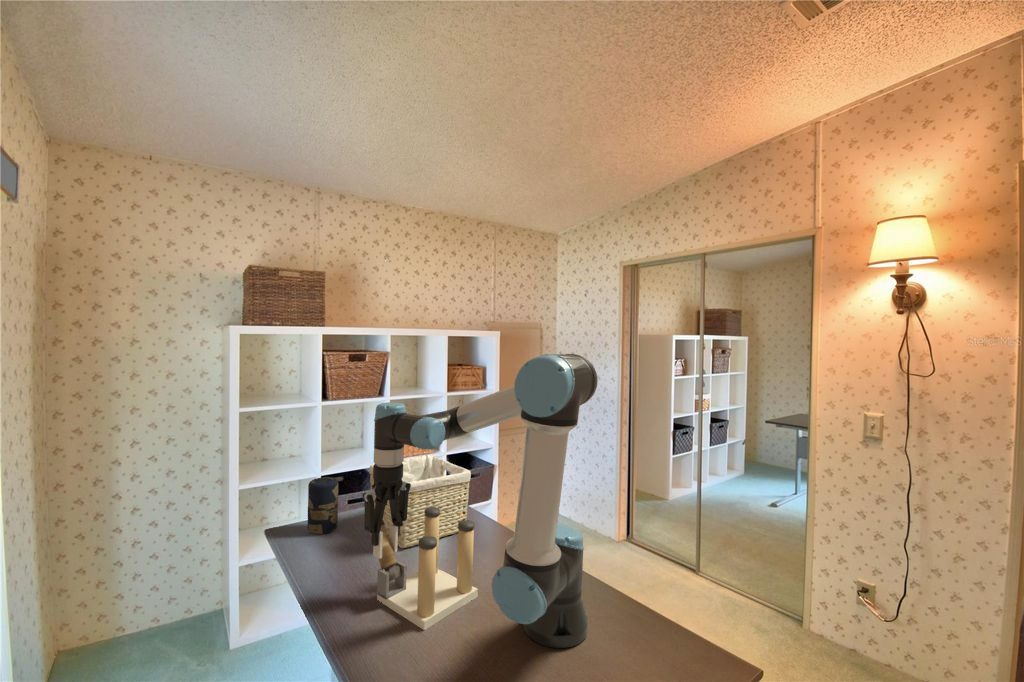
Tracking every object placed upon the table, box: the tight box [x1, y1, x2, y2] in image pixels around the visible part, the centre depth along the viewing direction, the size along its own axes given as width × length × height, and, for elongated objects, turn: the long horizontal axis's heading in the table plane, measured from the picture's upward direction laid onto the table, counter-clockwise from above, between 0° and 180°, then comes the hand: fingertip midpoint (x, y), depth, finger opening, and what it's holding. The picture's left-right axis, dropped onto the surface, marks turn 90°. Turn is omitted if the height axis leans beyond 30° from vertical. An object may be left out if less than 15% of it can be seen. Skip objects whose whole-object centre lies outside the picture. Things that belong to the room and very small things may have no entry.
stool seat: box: [376, 507, 479, 631], centre depth 117 cm, size 18×19×19 cm
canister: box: [307, 476, 339, 535], centre depth 155 cm, size 10×10×18 cm
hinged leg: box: [369, 520, 402, 582], centre depth 118 cm, size 14×4×4 cm
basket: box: [368, 454, 472, 549], centre depth 159 cm, size 27×27×22 cm
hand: (385, 553), depth 118 cm, fingers closed on hinged leg, 4 cm apart
